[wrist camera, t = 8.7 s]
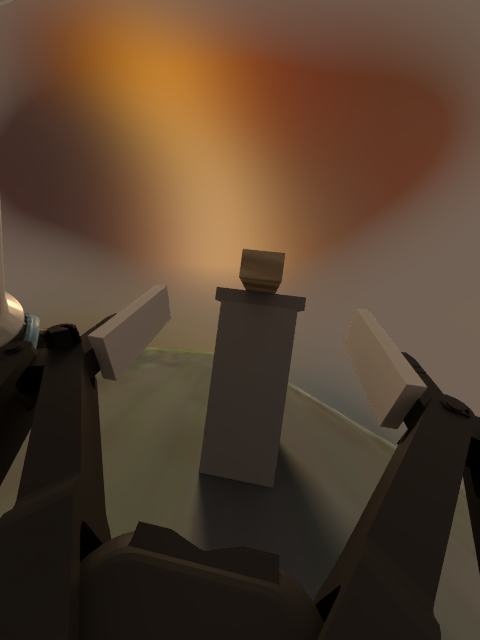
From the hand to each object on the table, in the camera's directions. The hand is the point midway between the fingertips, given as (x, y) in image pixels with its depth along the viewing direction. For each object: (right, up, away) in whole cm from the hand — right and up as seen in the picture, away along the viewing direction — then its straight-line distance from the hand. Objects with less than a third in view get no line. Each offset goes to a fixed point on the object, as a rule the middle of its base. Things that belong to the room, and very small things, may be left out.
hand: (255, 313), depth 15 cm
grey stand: (-1, -26, +28) cm, 38 cm away
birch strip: (+2, +4, +21) cm, 22 cm away
